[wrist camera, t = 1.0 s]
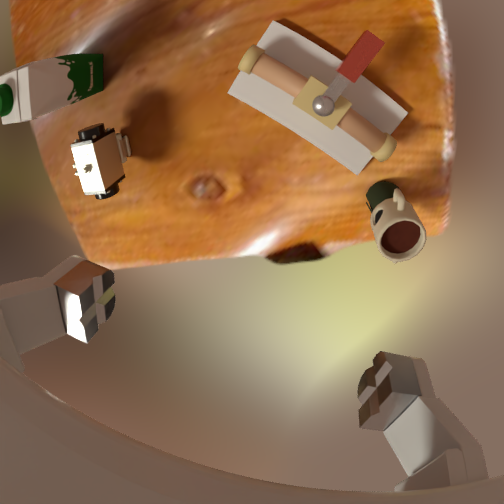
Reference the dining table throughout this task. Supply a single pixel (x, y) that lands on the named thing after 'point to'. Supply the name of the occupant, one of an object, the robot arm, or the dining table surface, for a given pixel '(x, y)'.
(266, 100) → the board
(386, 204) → the character mug
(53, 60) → the milk carton
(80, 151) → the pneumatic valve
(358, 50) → the lever
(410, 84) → the dining table surface
